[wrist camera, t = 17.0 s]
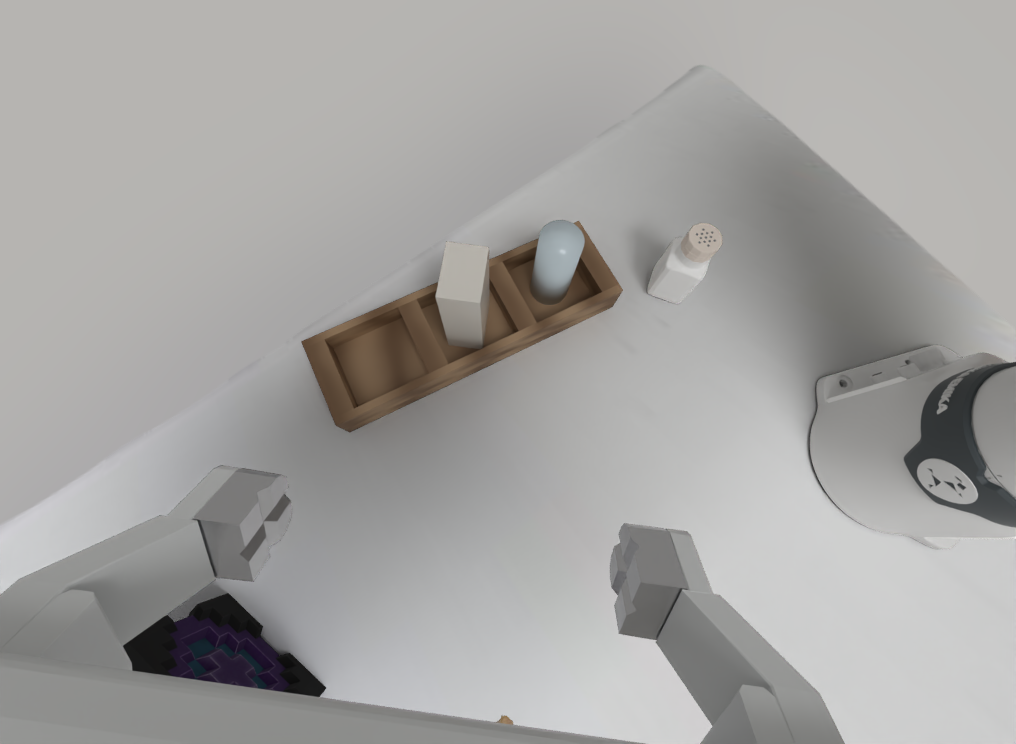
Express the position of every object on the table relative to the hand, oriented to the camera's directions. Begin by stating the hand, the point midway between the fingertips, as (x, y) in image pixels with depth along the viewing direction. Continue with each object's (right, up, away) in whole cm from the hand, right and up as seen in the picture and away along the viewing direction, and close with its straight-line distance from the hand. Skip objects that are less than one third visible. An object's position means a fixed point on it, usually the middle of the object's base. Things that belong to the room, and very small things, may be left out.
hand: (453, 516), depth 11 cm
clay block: (-3, +8, +35) cm, 36 cm away
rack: (-3, +8, +36) cm, 37 cm away
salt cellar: (+6, +12, +36) cm, 39 cm away
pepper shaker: (+19, +13, +39) cm, 45 cm away
